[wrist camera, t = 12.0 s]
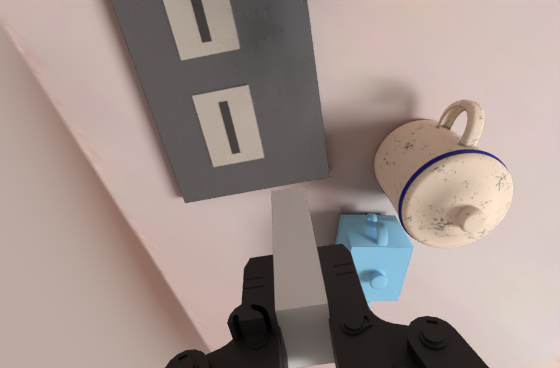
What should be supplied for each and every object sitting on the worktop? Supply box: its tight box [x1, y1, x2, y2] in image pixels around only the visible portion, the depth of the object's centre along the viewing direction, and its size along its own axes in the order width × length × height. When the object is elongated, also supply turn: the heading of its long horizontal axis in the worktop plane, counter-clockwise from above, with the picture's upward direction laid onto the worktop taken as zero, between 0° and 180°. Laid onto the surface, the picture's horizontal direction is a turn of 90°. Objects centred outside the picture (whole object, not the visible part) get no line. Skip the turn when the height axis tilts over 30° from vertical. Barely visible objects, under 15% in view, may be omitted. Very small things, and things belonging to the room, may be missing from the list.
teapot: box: [335, 213, 413, 308], centre depth 38 cm, size 12×6×8 cm, turn 177°
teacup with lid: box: [374, 100, 513, 248], centre depth 30 cm, size 12×9×12 cm
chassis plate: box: [111, 0, 330, 203], centre depth 29 cm, size 28×15×2 cm, turn 10°
